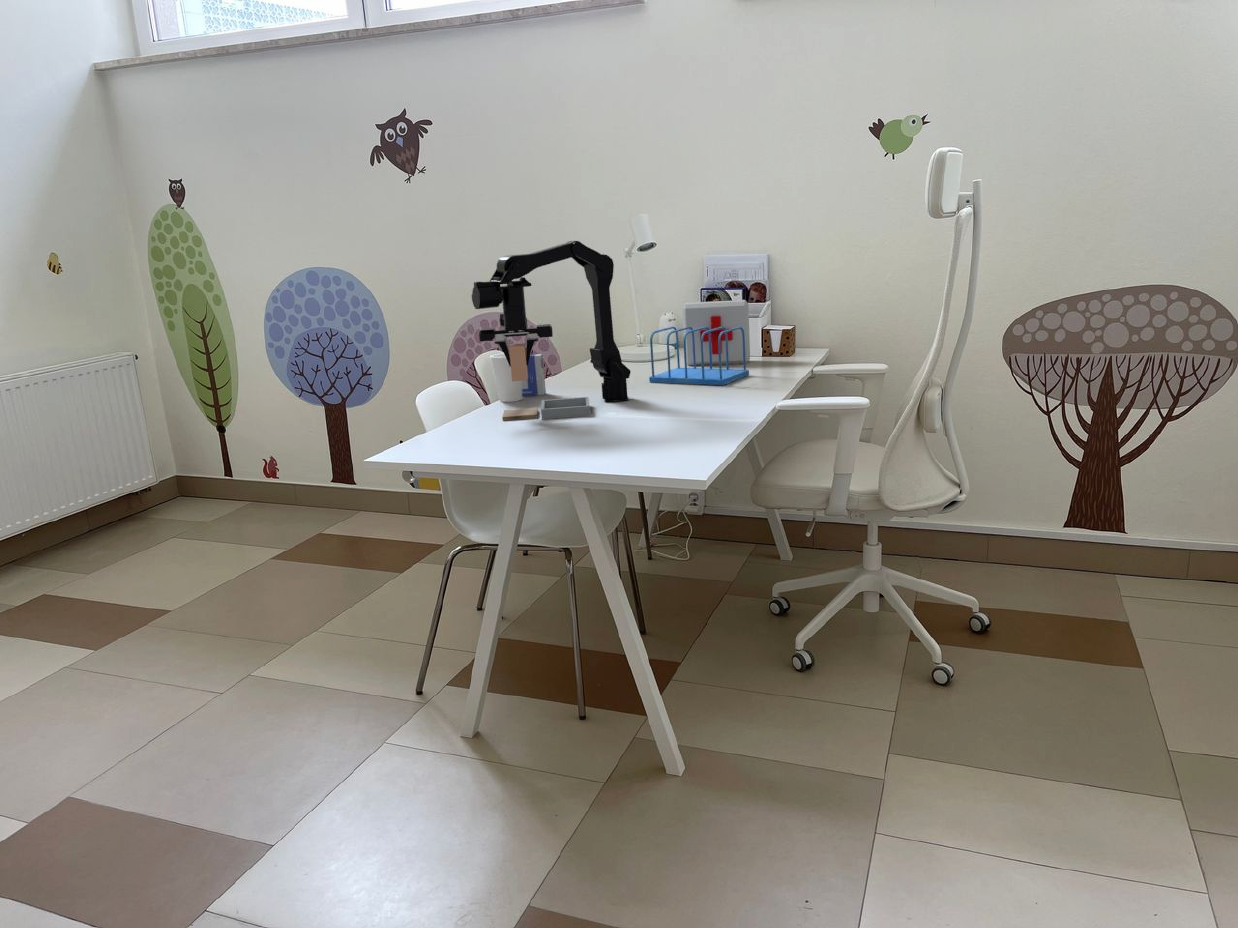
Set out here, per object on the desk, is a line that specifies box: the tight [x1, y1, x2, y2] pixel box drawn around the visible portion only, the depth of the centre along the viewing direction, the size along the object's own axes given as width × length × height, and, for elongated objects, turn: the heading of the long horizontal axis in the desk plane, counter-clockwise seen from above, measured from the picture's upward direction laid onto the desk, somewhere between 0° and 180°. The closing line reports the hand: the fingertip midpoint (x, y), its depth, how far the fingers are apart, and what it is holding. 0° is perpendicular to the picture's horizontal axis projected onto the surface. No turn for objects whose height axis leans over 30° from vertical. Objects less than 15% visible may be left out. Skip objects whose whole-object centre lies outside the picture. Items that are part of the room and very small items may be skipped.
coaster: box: [502, 407, 539, 422], centre depth 249 cm, size 9×9×1 cm
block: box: [508, 342, 528, 381], centre depth 245 cm, size 4×5×9 cm
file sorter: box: [648, 326, 750, 386], centre depth 282 cm, size 25×17×15 cm
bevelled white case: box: [681, 299, 751, 367], centre depth 306 cm, size 21×8×20 cm, turn 81°
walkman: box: [522, 353, 547, 397], centre depth 276 cm, size 8×3×12 cm, turn 85°
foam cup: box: [489, 352, 523, 403], centre depth 270 cm, size 10×9×13 cm
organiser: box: [540, 396, 591, 420], centre depth 249 cm, size 13×13×2 cm
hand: (519, 365), depth 246 cm, fingers closed on block, 4 cm apart
